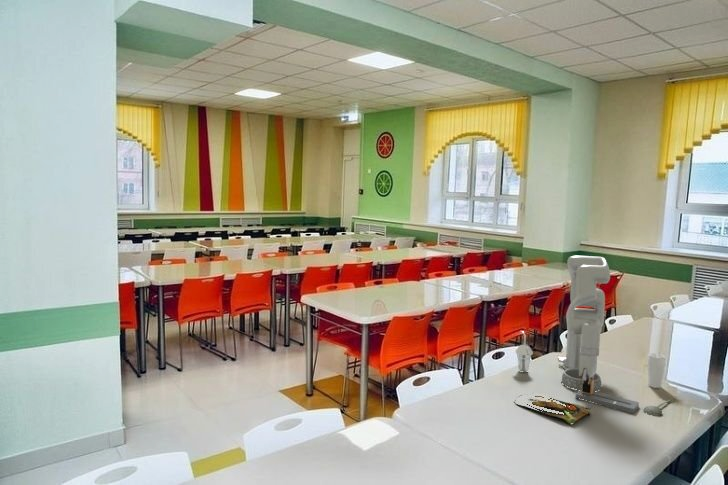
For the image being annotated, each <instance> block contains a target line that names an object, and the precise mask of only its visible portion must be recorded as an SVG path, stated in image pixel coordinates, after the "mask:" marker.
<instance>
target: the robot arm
mask: <svg viewBox="0 0 728 485" xmlns="http://www.w3.org/2000/svg"><path fill="white" fill-rule="evenodd" d="M566 263H567V269H568V272H569V274H570V275H569V276H570V304H569V306H568V308H567V311H566V317H565V319H566V327H567V328H566V329H567V332H566V335H567V336H566V349H565V350H566V351H565V352H566V353H565V354H566V355H565V357H561V356H558V358H557V360H558V362H560V363H563V364H562V368H563V369H564V370H567V369H579V376H582V375H583V378H582V380H583V386H582V391H583V392H586V393H590V388H591V384H590V379H593V378H594V375H595V373H596V374H597V371H598V370H597V368H598V367H597V366H598V357H599V356H600V343H601V333H602V329H603V326H604V322H605V309H606V308H605V307H606V305H605V304H606V302H605V301H606V295H605V292H604V291H603V290H602V289H601V288H598V287H597V284H608V283H609V282H610V280H611V271H610V267H609V264H608V261H607V260H606V258H605V257H603V256H597V255H595V256H592V255H590V256H589V255H572V256H571V255H570V256H569V257H568V259H567V262H566ZM581 307H586V308H581ZM593 308H594V309H593ZM586 378H587V379H586Z"/></svg>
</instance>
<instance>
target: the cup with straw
mask: <svg viewBox="0 0 728 485" xmlns="http://www.w3.org/2000/svg"><path fill="white" fill-rule="evenodd" d="M520 333H522V335H523V337H524V338H523V344H520V345H519V346H517V348H516V350H515V351H514V352H515V354H516V356H517V357H516V358H517V366H518V371H519V370H520V371H523V372H527V371H528V372H529V369H530V368H529V367H530V363H531V358H532V356H533V354H534V352H533V351H532V349H531V347H530V346H529V345H527V344H526V342H527V340H526V339H527V338H526V337H527V336H526V334H525V332H524V331H523V330H520Z"/></svg>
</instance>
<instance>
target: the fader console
mask: <svg viewBox="0 0 728 485" xmlns="http://www.w3.org/2000/svg"><path fill="white" fill-rule="evenodd" d="M576 397H577V398H580V399H584V400H587V401H591V402H594V403H593V404H595V403H597V404H596V405H598V404H601V405H600V406H602V405H604V406H603V407H606V406H607V407H606V408H610V407H611V408H610V409H614V408H615V409H614V410H617V409H618V411H621V410H622V411H621V412H625V411H626V412H625V413H629V412H630V414H633V413H634V414H635V412H636V411H637V410H638V408H639V407H640V406H639V404H640V402H638V401H635V400H632V399H627V398H623V397H619V396H615V395H611V394H607V393H603V392H600V391H597V392H595V391H593V394H591V395H590V394H586V393H582V389H581V390H580V391H577V392H576V393H575V398H576ZM587 401H586V402H587ZM591 402H590V403H591Z"/></svg>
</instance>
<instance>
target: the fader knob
mask: <svg viewBox="0 0 728 485" xmlns="http://www.w3.org/2000/svg"><path fill="white" fill-rule="evenodd" d="M586 379H587V378H586ZM590 384H591V388H590V393H586V392H583V391H582V393H586V394H590V395H591V394H593V388H594V380H593V379H590ZM582 386H583V380H582Z"/></svg>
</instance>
